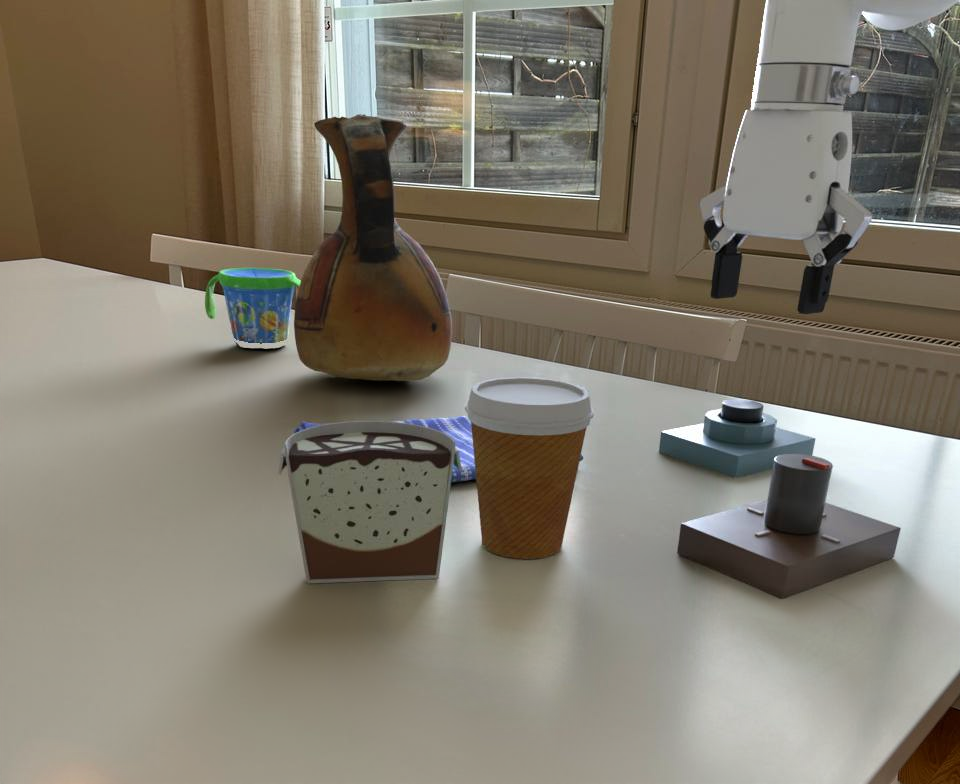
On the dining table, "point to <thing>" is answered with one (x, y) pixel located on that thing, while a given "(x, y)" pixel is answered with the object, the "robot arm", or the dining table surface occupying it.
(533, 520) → the disposable coffee cup
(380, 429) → the food container
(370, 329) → the ceramic pitcher
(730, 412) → the button
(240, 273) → the snack cup
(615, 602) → the dining table surface
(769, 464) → the button box
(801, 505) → the knob
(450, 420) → the dish towel
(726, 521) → the knob panel
